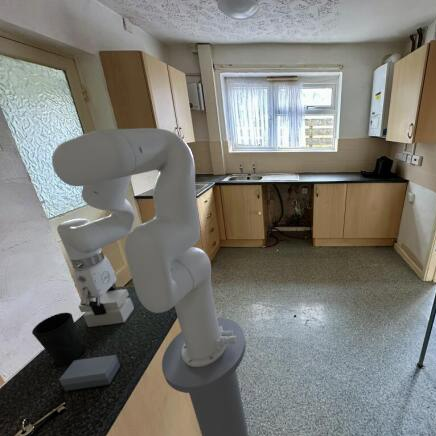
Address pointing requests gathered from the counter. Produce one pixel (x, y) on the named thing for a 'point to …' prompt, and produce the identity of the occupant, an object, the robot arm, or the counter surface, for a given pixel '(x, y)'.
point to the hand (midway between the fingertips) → (107, 305)
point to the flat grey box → (109, 300)
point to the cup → (59, 338)
